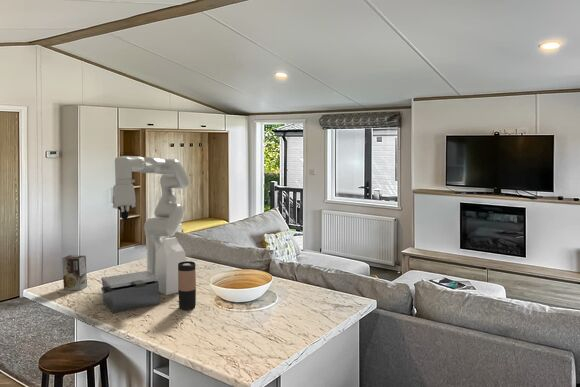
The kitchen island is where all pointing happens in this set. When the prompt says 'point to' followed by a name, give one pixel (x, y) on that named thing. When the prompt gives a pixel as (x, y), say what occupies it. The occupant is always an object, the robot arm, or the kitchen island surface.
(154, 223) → the robot arm
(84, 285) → the coffee box
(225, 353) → the kitchen island surface
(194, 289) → the travel mug
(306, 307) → the kitchen island surface
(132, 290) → the grey lidded box
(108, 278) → the lid
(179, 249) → the milk
